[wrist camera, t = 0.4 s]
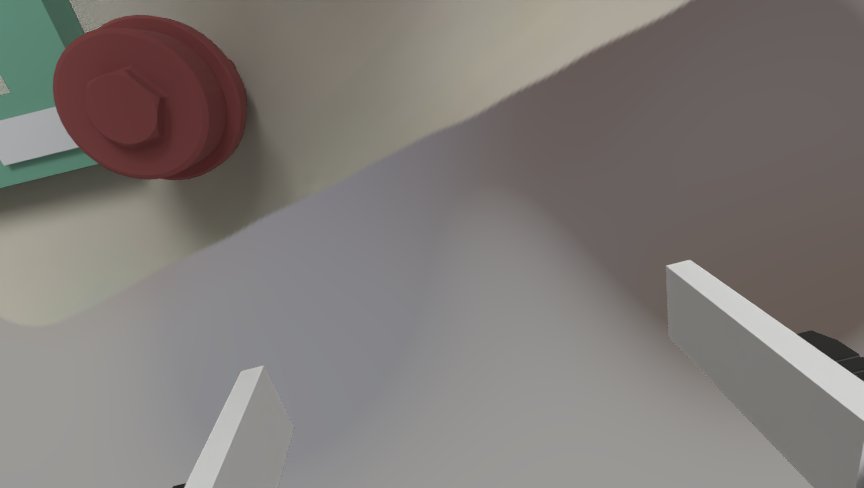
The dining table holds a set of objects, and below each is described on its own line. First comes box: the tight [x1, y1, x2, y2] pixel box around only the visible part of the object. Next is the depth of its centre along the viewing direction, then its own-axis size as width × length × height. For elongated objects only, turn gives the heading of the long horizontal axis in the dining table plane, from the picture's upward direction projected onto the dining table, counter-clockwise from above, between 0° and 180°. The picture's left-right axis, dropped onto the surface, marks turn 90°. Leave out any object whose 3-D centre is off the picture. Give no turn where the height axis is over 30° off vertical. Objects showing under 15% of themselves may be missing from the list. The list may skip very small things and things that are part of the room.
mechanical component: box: [53, 15, 247, 180], centre depth 31 cm, size 12×10×10 cm
